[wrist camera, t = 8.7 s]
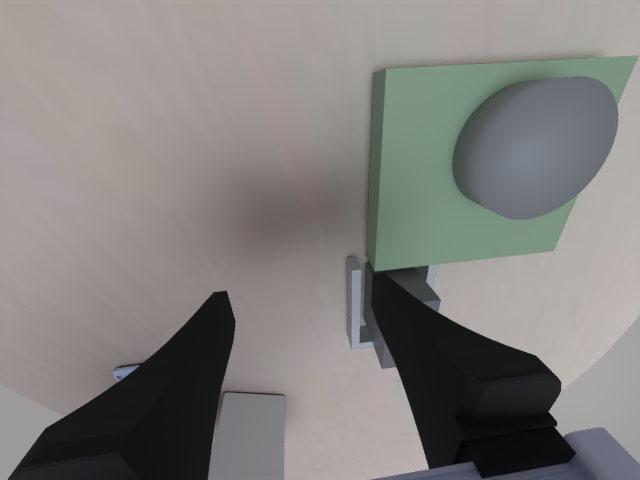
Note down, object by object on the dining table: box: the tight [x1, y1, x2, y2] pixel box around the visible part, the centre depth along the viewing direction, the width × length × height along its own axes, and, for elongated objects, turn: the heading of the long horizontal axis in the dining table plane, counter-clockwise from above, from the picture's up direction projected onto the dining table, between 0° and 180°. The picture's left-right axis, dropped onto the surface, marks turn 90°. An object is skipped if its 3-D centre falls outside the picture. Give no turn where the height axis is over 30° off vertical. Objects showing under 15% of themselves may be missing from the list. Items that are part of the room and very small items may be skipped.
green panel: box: [347, 56, 638, 350], centre depth 20 cm, size 24×18×6 cm
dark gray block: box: [364, 262, 441, 369], centre depth 23 cm, size 7×4×6 cm, turn 3°
